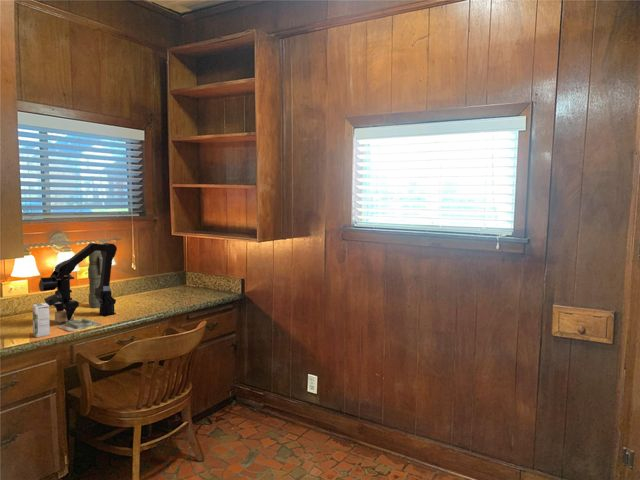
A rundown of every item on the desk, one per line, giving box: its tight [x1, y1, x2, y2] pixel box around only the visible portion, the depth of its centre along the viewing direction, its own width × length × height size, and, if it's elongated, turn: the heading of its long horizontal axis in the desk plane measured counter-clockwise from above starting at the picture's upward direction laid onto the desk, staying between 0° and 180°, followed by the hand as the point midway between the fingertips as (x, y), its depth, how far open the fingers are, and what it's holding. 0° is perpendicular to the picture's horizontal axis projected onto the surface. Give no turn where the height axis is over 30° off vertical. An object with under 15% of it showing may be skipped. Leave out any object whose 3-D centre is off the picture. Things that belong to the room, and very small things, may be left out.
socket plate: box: [57, 318, 103, 333], centre depth 215 cm, size 16×12×2 cm
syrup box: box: [32, 302, 51, 338], centre depth 200 cm, size 6×6×14 cm
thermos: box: [87, 251, 103, 309], centre depth 254 cm, size 9×12×35 cm
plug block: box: [54, 310, 75, 326], centre depth 220 cm, size 7×4×6 cm, turn 145°
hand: (64, 318), depth 221 cm, fingers open, 9 cm apart
